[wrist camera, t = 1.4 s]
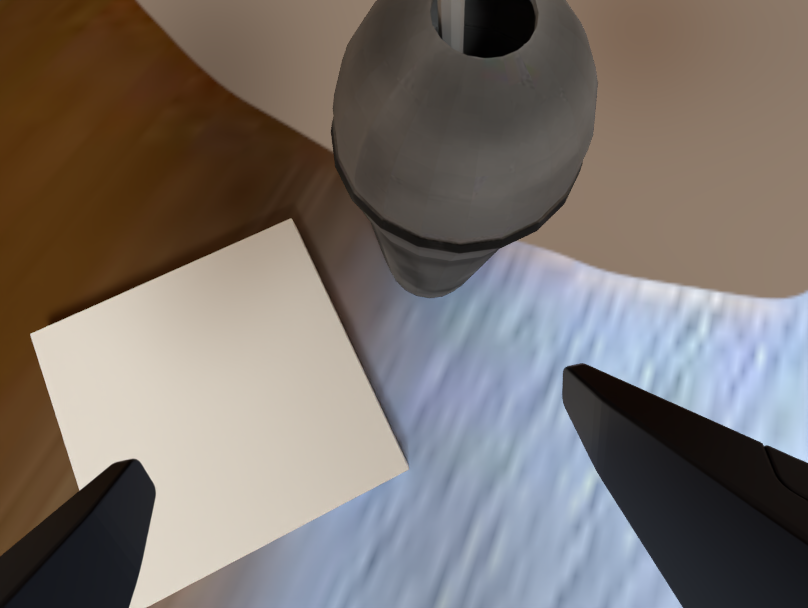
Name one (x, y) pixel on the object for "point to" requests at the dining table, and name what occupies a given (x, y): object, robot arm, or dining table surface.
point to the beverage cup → (461, 128)
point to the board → (220, 404)
